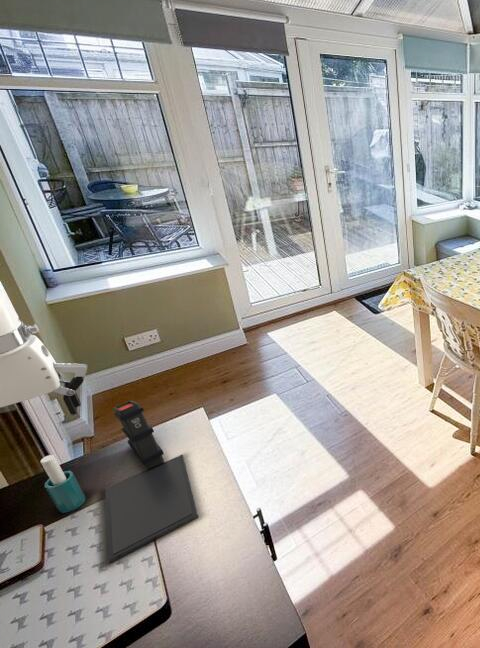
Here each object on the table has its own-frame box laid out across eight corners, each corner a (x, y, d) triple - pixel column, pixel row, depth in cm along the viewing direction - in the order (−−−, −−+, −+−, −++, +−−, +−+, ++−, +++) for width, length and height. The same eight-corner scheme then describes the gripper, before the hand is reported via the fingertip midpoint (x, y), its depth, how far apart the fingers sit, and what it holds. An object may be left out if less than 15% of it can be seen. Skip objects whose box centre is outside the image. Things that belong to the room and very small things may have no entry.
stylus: (65, 508, 81) (39, 464, 76) (65, 501, 82) (40, 458, 77) (78, 502, 82) (53, 459, 77) (78, 496, 83) (54, 453, 78)
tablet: (109, 563, 73) (107, 560, 72) (106, 491, 85) (104, 487, 85) (198, 517, 81) (197, 513, 80) (183, 457, 93) (182, 454, 93)
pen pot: (58, 516, 80) (43, 491, 77) (59, 503, 82) (45, 478, 80) (85, 504, 82) (72, 480, 79) (85, 492, 85) (72, 467, 82)
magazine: (148, 475, 87) (117, 412, 85) (139, 465, 95) (110, 408, 93) (170, 463, 90) (140, 402, 88) (158, 455, 98) (131, 399, 96)
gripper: (68, 315, 74) (102, 391, 81) (-90, 351, 63) (-35, 434, 70) (66, 333, 69) (102, 412, 76) (-106, 375, 58) (-45, 462, 65)
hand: (36, 422), depth 73 cm, fingers open, 9 cm apart
